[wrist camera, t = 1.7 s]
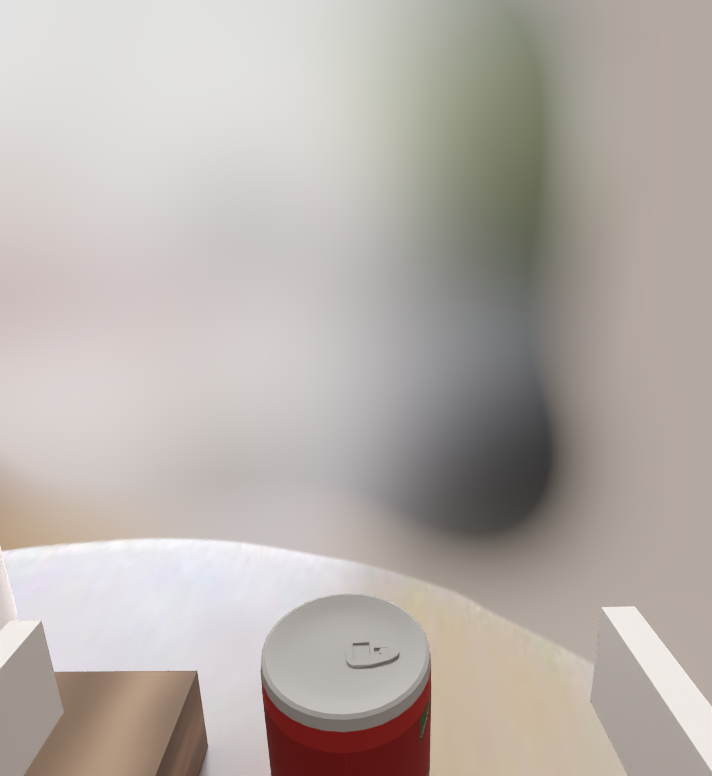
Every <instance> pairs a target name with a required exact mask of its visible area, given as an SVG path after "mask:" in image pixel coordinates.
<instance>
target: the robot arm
mask: <svg viewBox="0 0 712 776" xmlns="http://www.w3.org/2000/svg"><path fill="white" fill-rule="evenodd" d="M590 702H591V704H592V706H593V708H594V710H595V712H596V714H597V715H598V717H599V719H600V721H601V723H602V725H603V727H604V729H605V731H606V733H607V735H608V737H609V739H610V741H611V743H612V745H613V747H614V749H615V751H616V753H617V755H618V757H619V759H620V761H621V763H622V765H623V767H624V769H625V771H626V773H627V775H628V776H712V707H711V705H710V704H709V703H708V702H707V700H706V699H705V698H704V696H703V695H702V694H701V692H700V691H699V690H698V689H697V687H696V686H695V684H694V683H693V682H692V681H691V679H690V678H689V677H688V675H687V674H686V673H685V671H684V670H683V669H682V667H681V666H680V665H679V664H678V662H677V661H676V660H675V658H674V657H673V656H672V654H671V653H670V652H669V651H668V649H667V648H666V647H665V645H664V644H663V643H662V641H661V640H660V639H659V638H658V636H657V635H656V634H655V632H654V631H653V630H652V629H651V627H650V626H649V624H648V623H647V622H646V620H645V619H644V618H643V617H642V615H641V614H640V613H639V611H638V610H637V609H636V607H602V608H601V616H600V625H599V633H598V641H597V649H596V658H595V666H594V675H593V683H592V692H591V700H590ZM63 713H64V711H63V707H62V703H61V699H60V695H59V690H58V686H57V682H56V678H55V674H54V670H53V666H52V662H51V658H50V654H49V650H48V646H47V642H46V638H45V634H44V629H43V625H42V621H9V622H8V623H7V624H6V625H5V626H4V627H3V628H2V630H1V631H0V776H24V774H25V773H26V771H27V769H28V768H29V766H30V765H31V763H32V762H33V760H34V758H35V757H36V755H37V754H38V752H39V751H40V749H41V747H42V746H43V744H44V743H45V741H46V740H47V738H48V736H49V735H50V733H51V732H52V730H53V729H54V727H55V725H56V724H57V722H58V721H59V719H60V718H61V716H62V714H63Z"/></svg>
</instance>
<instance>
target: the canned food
mask: <svg viewBox="0 0 712 776" xmlns="http://www.w3.org/2000/svg"><path fill="white" fill-rule="evenodd" d="M261 680H262V694H263V703H264V712H265V721H266V730H267V740H268V749H269V758H270V767H271V776H429V772H430V722H431V658H430V652H429V643H428V640H427V637H426V634H425V632H424V630H423V629H422V627H421V625H420V624H419V622H418V621H417V620H416V619H415V618H414V617H413V616H412V615H411V614H410V613H409V612H407V611H406V610H404V609H403V608H401V607H400V606H398V605H396V604H394V603H392V602H390V601H388V600H385V599H382V598H378V597H375V596H369V595H363V594H337V595H330V596H325V597H321V598H317V599H314V600H312V601H309V602H306V603H304V604H302V605H300V606H298V607H297V608H295V609H293V610H292V611H290V612H289V613H288V614H286V615H285V616H284V617H282V618H281V619H280V620H279V621H278V622H277V624H276V625H275V626H274V627H273V628H272V630H271V631H270V633H269V635H268V636H267V638H266V640H265V643H264V646H263V649H262V658H261Z"/></svg>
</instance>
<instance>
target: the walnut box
mask: <svg viewBox="0 0 712 776" xmlns="http://www.w3.org/2000/svg"><path fill="white" fill-rule="evenodd" d="M54 674H55V678H56V682H57V686H58V690H59V695H60V699H61V703H62V707H63V711H64V713H63V714H62V716H61V718H60V719H59V721H58V722H57V724H56V725H55V727H54V729H53V730H52V732H51V733H50V735H49V736H48V738H47V740H46V741H45V743H44V744H43V746H42V747H41V749H40V751H39V752H38V754H37V755H36V757H35V758H34V760H33V762H32V763H31V765H30V766H29V768H28V769H27V771H26V773H25V774H24V776H199V773H200V769H201V766H202V763H203V760H204V757H205V754H206V750H207V747H208V743H207V736H206V729H205V722H204V715H203V708H202V702H201V695H200V688H199V681H198V674H197V671H114V672H54Z"/></svg>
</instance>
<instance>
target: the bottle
mask: <svg viewBox="0 0 712 776" xmlns="http://www.w3.org/2000/svg"><path fill="white" fill-rule="evenodd" d="M9 621H18V620H17V610H16V606H15V602H14V598H13V594H12V590H11V586H10V582H9V578H8V575H7V571H6V567H5V563H4V559H3V555H2V551H1V547H0V631H1V630H2V628H3V627H4V626H5V625H6V624H7V623H8V622H9Z"/></svg>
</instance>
